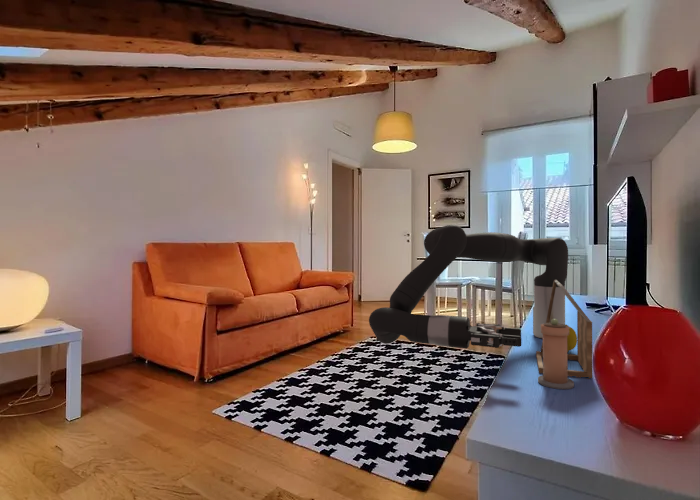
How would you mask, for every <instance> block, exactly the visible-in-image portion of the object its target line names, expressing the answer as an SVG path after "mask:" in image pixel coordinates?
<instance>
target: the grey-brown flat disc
mask: <svg viewBox="0 0 700 500" xmlns="http://www.w3.org/2000/svg"><path fill="white" fill-rule="evenodd" d="M537 381H538V383H539V384H540V385H541V386H543V387H547V388H550V389H555V390H572V389H574V388H575V382H574V381H573V380H572V379H571V378H568V382H567V383H564V384H556V383H551V382H547V381H545V380H544V379H543V374H542V375H539V376H538V377H537Z"/></svg>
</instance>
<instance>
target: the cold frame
mask: <svg viewBox="0 0 700 500" xmlns="http://www.w3.org/2000/svg"><path fill="white" fill-rule="evenodd" d="M556 284H557V285H558V286H559V288H560V289H561V290H562V292H563V293H564V294H565V298H567V300H569V302H570V303H571V305H572V306H573V307H574V308H575V310H576V311H577V312H576V313H577V314H576V317H577V322H576V323H577V328H576V329H577V333H576V335H577V344H576V346H577V348H576V349H577V354H572V353H571V354H570V353H567V361H568V360H570V361H578V364H580V367H581V366H582V367H581V369H582V368H583V369H582V370H573V369H568V377H572V376H576V377H575V378H581V377H589V378H588V379H590V378H592V379H593V322H592V320H591V319H590V318H589V317H588V316H587V315H586V313H585V312H584V311H583V309H582V308H581V307H580V306H579V304H578V303H577V301H575V299H574V298H573V297H572V295H571V294H570V293H569V292H568V291H567V289H566V287H565V288H564V287H563V285H562V284H561V283H559V282H558V281H557V280H554V282H553V287H552V293H551V298H550V304H549V309H548V314H547V320H546V323H549V322H550V316H551V311H552V306H553V300H554V295H555V289H556ZM535 356H536V357H535V358H536V363H537V367H538V368H537V370H538V373H540V374H543V341H542V342H541V348H540V351H538V350H537V351H535ZM583 370H584V371H583Z"/></svg>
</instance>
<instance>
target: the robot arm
mask: <svg viewBox="0 0 700 500" xmlns="http://www.w3.org/2000/svg"><path fill="white" fill-rule="evenodd" d="M423 240H424V241H423V246H424V248H425V251H426V252H427V253H428V254H429V255H428V256H427V257H426V258H425V259H424V260H423V261H422V262H421V263H419V264H418V265H417V266H416V267H415V268H413V270H411V271H410V272H409V273H408V274H407V275H406V276H405V277H404V278H403V279H402V280H401V282H400V283H399V284H398V286H397V287H396V288H395V290H393V292H392V293H391V295H390V297H389V307H379V308H376V309H375V310H373V311H372V312H371V313H370V315H369V317H368V324H369V326H370V329H371V330H372V332H373V335H374V336H375V338H376V339H377V340H378V341H379V342H380V343H382V344H385V345H387V344H392V343H394V342H395V341H397V340H398V339H399V338H400V337H401V336H403V337H405V338H406V339H407V340H408V341H410V342H412V343H418V344H419V343H420V344H427V345H429V344H430V345H433V346H434V345H435V346H439V347H446V348H455V349H468V348H469V347H470V345H471V346H478V347H488V348H494V349H498V348H499V349H500V347H503V346H509V347H517V348H518V347H519V348H520V347H521V346H522V330H521V328H519V327H518V328H516V327H505V326H503V325H502V324H495V323H494V324H493V323H491V324H490V323H480V322H478V323H476V325H473V326H472V325H471V320H470V318H469V317H468V316H459V315H445V314H444V315H443V314H437V315H431V314H430V315H429V314H428V315H427V314H414V313H412V312H413V311H414V310H415V308H416V306H417V305H418V304H419V302H420V301H421V300H422V298H423V297H424V295H425V294H426V292H427V291H428V290H429V289H430V287H431V286H432V285H433V283H434V282H435V281H436V280H437V279H438V278H439V276H440V275H441V274H442V273H443V272H445V270H446V269H447V268H448V267H449V266H450V265H451V264H452V263H453V262H454V261H455V260H457V258H465V259H471V260H476V261H477V260H478V261H483V262H484V261H485V262H492V263H493V262H495V263H511V262H525V263H529V264H530V263H531V264H535V265H538V266H545V271H544V272H543V273H542V274H539V275H537V276H535V277H534V279H533V285H534V286H533V299H534V300H533V303H534V304H533V307H532V333H533V335H534V337H536V338H539V339H543V333H541V324H544V323H546V320H547V314H548V309H549V304H550V298H551V293H552V287H553V282H554V280H557V281H558V282H559V283H561V284H562V285H563V287H564V288H565V289H566V280H567V277H568V267H569V266H568V264H569V248H568V245H567V243H566V241H565V240H564V239H563V238H559V237H545V238H544V237H542V238H541V237H540V238H532V239H530V238H529V239H526V238H525V239H522V238H518V237H516V236H515V235H513V234H510V233H501V232H492V231H491V232H478V233H477V232H476V233H466V232H465V231H464V228H462V227H461V226H459V225H457V224H447V225H444V226H443V225H442V226H440V227H437V228H435V229H431V231H429V232H428V233H427V234H426V236H425V237H424V239H423ZM552 319H557V320H558V323H561V324H565V325H566V295H565V294H564V293H563V292H562V290H561V289H560V288H559V286H558V285H557V284H556V289H555V295H554V300H553V306H552V311H551V316H550V322H549V323H551V320H552Z"/></svg>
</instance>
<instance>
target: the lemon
mask: <svg viewBox="0 0 700 500" xmlns="http://www.w3.org/2000/svg"><path fill="white" fill-rule="evenodd" d="M565 325H566V326H569V325H568V324H565ZM576 346H577V333H576V331H575V329H574V328H573V327H571V326H569V335H568V336H567V353H568V352H569V351H573V350H574V349H575V348H576Z"/></svg>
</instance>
